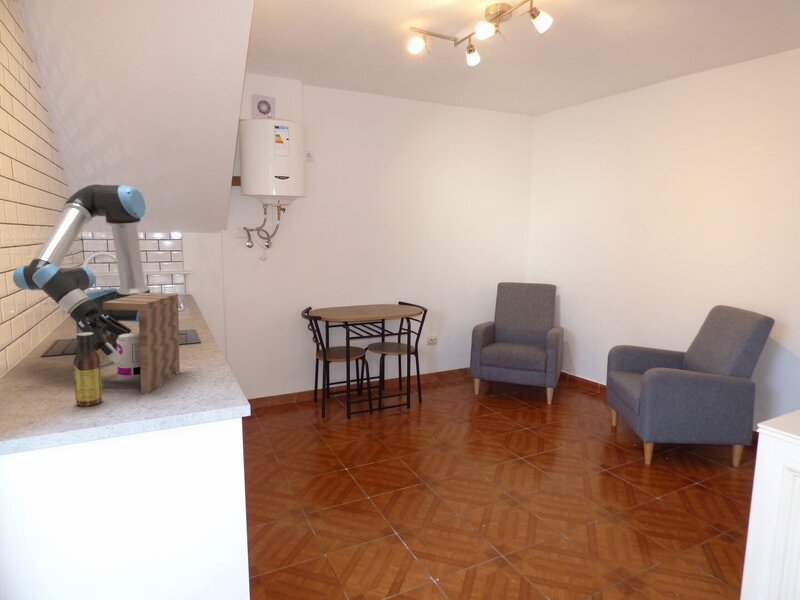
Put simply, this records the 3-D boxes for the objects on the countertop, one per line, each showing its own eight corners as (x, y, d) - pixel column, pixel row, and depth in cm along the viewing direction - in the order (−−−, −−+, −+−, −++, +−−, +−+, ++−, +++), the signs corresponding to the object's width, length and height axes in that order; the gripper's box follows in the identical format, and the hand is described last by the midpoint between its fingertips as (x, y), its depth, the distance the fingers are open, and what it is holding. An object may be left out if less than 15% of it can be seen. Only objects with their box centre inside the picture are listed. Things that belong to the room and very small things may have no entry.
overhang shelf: (133, 370, 171) (130, 292, 167) (179, 371, 172) (178, 293, 168) (94, 392, 147) (90, 302, 143) (148, 394, 148) (145, 303, 144)
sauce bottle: (83, 399, 141) (80, 330, 139) (106, 399, 142) (104, 331, 139) (70, 407, 135) (66, 335, 132) (94, 407, 135) (91, 335, 133)
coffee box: (98, 361, 181) (97, 317, 179) (114, 362, 180) (112, 318, 178) (77, 367, 172) (75, 321, 170) (93, 369, 171) (91, 323, 169)
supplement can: (117, 386, 154) (115, 338, 152) (118, 379, 161) (116, 333, 159) (147, 383, 157) (145, 337, 155) (146, 376, 165) (145, 332, 163)
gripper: (93, 308, 167) (140, 353, 170) (45, 322, 143) (101, 374, 146) (109, 293, 167) (156, 339, 170) (63, 304, 142) (119, 357, 145)
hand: (130, 355), depth 158 cm, fingers open, 13 cm apart
